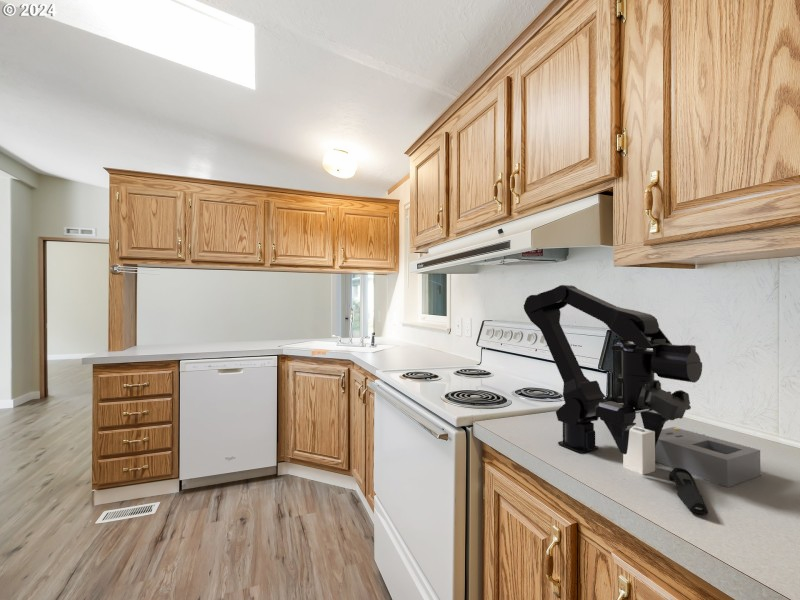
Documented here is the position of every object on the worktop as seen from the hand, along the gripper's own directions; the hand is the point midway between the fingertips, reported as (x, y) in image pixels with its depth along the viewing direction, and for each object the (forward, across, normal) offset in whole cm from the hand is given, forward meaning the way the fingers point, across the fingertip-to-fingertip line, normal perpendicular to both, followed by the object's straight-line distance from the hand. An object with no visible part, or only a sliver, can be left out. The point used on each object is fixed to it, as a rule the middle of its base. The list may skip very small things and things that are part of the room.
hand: (638, 450), depth 78 cm
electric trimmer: (+4, -3, -11) cm, 12 cm away
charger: (+4, 0, 0) cm, 4 cm away
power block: (+4, +13, -4) cm, 14 cm away
